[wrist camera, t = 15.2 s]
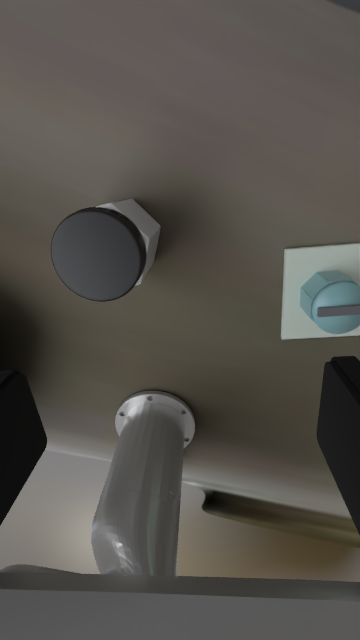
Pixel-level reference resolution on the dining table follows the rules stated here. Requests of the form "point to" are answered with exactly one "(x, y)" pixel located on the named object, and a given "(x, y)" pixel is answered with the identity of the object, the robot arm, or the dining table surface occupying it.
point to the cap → (332, 301)
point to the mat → (298, 269)
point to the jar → (105, 249)
